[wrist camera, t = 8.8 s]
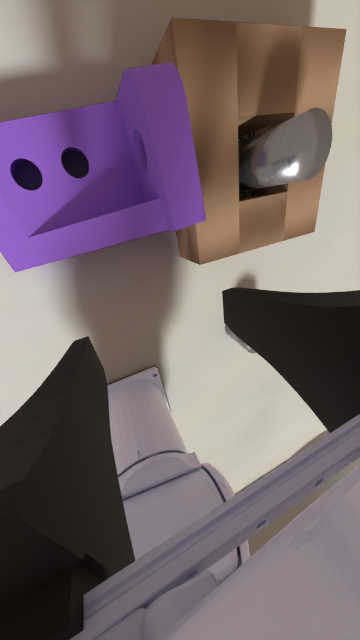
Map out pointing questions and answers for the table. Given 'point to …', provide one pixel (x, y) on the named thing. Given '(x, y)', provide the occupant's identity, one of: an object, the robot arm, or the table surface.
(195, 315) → the table surface
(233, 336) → the short pin
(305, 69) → the hole block
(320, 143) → the tall pin
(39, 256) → the bracket
